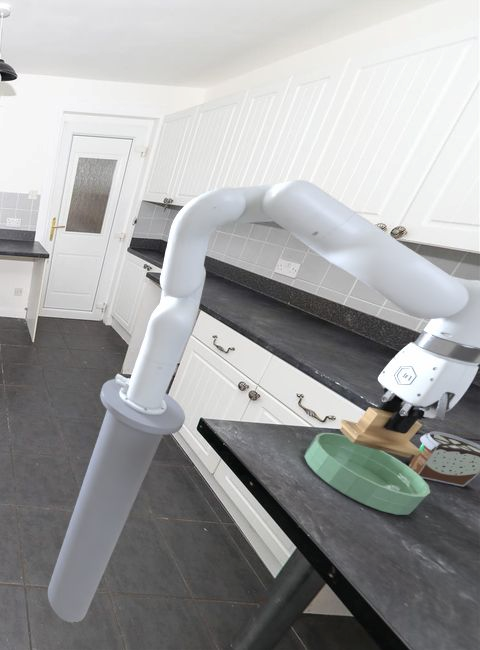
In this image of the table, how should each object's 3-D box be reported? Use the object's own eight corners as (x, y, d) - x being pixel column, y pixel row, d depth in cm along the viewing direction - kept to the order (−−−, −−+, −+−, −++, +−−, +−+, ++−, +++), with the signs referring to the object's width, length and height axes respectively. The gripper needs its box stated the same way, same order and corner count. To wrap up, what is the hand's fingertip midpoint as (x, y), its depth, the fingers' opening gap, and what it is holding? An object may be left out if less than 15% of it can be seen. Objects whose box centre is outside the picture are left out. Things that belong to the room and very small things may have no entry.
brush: (352, 444, 69) (373, 415, 66) (336, 428, 73) (355, 401, 70) (413, 460, 66) (439, 431, 63) (393, 442, 70) (416, 415, 68)
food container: (442, 467, 82) (470, 436, 78) (471, 488, 76) (503, 456, 73) (384, 455, 84) (408, 424, 80) (408, 475, 78) (436, 443, 74)
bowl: (299, 473, 75) (312, 453, 73) (307, 440, 86) (319, 423, 84) (415, 533, 64) (435, 513, 62) (407, 487, 75) (424, 468, 72)
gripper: (387, 326, 68) (339, 397, 76) (465, 364, 54) (396, 447, 61) (435, 334, 66) (380, 407, 74) (529, 376, 52) (449, 461, 60)
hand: (388, 424), depth 68 cm, fingers closed on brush, 2 cm apart
